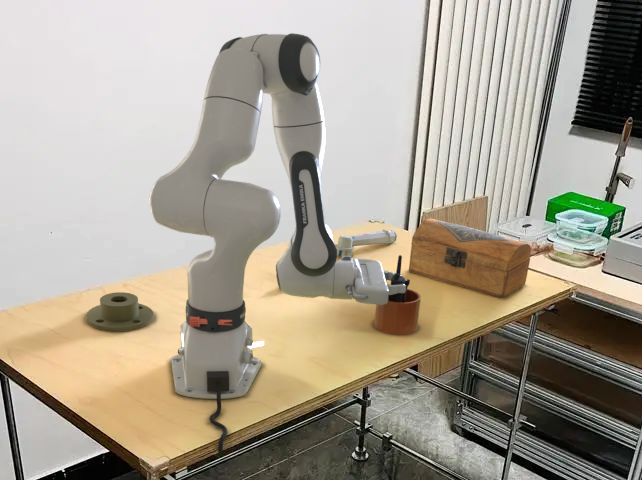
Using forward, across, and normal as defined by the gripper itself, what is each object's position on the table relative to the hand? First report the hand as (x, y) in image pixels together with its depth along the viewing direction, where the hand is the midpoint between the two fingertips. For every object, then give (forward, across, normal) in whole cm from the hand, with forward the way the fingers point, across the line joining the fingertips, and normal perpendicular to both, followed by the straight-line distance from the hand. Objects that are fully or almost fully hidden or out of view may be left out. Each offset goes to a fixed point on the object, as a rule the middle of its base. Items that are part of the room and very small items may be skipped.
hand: (403, 283), depth 190 cm
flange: (-66, -2, +11) cm, 67 cm away
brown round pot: (-1, 0, +11) cm, 11 cm away
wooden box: (+23, +35, +11) cm, 43 cm away
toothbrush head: (-4, +56, +11) cm, 57 cm away
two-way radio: (-1, 0, +9) cm, 9 cm away
